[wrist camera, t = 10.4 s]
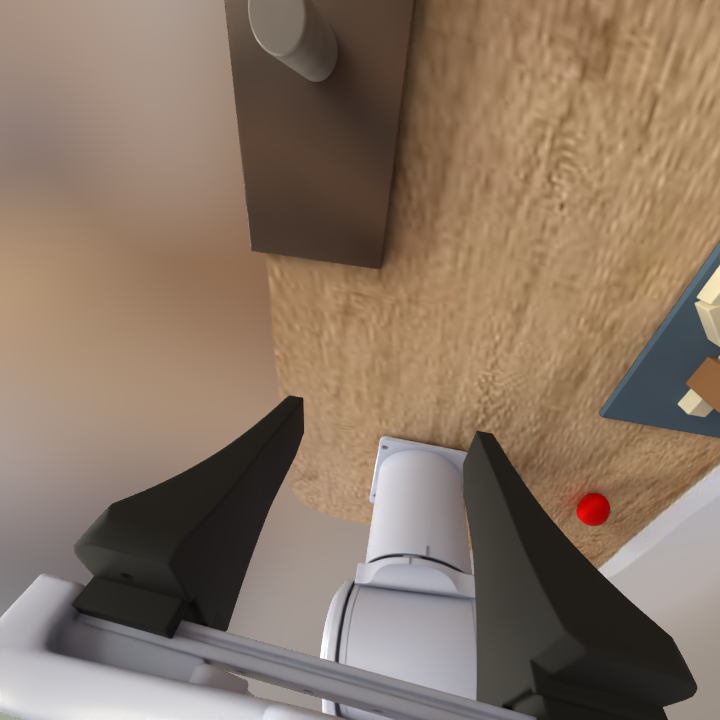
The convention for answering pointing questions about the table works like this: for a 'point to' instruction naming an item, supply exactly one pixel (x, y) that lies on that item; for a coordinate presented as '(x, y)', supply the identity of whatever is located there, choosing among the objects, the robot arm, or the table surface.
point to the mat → (670, 368)
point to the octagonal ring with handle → (715, 375)
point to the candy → (593, 509)
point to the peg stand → (319, 122)
